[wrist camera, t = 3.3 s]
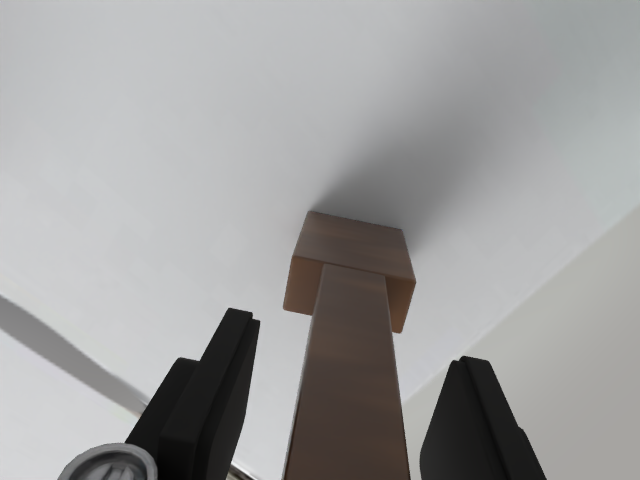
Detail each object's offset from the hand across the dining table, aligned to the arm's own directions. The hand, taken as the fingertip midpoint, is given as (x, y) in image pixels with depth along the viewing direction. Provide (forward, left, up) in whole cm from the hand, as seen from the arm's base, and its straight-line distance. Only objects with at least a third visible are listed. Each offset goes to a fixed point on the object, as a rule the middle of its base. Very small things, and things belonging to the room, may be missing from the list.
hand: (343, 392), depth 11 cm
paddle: (0, 0, -10) cm, 10 cm away
